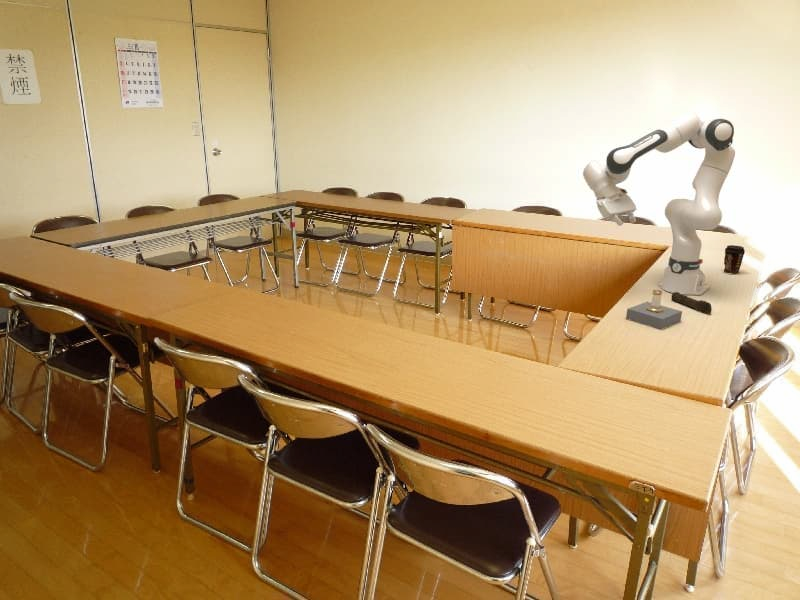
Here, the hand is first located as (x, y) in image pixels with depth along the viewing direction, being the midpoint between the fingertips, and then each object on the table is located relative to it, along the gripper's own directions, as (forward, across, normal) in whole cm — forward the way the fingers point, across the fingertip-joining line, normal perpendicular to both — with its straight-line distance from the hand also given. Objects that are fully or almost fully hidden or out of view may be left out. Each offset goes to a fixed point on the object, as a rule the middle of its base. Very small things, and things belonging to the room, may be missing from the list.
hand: (627, 223), depth 237 cm
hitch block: (+39, -15, +5) cm, 42 cm away
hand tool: (+41, +12, +4) cm, 43 cm away
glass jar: (+39, -15, +5) cm, 42 cm away
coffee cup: (+31, +78, +14) cm, 85 cm away
